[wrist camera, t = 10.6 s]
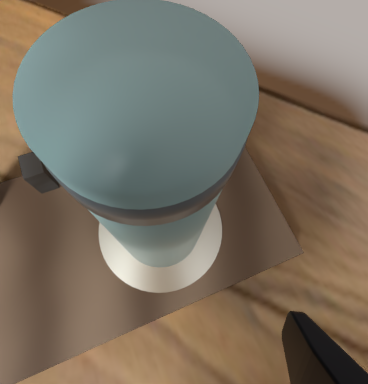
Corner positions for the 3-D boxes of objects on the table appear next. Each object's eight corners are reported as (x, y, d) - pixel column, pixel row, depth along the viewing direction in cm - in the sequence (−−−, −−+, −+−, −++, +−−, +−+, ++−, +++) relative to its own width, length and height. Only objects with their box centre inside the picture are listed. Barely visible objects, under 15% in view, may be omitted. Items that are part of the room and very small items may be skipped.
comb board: (-3, 389, 16) (-56, 418, 12) (-32, 205, 20) (-80, 183, 16) (294, 255, 19) (323, 246, 16) (221, 121, 23) (231, 87, 19)
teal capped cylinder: (161, 286, 17) (136, 259, 4) (104, 229, 18) (-44, 81, 5) (215, 225, 18) (308, 81, 6) (160, 176, 19) (141, -32, 7)
